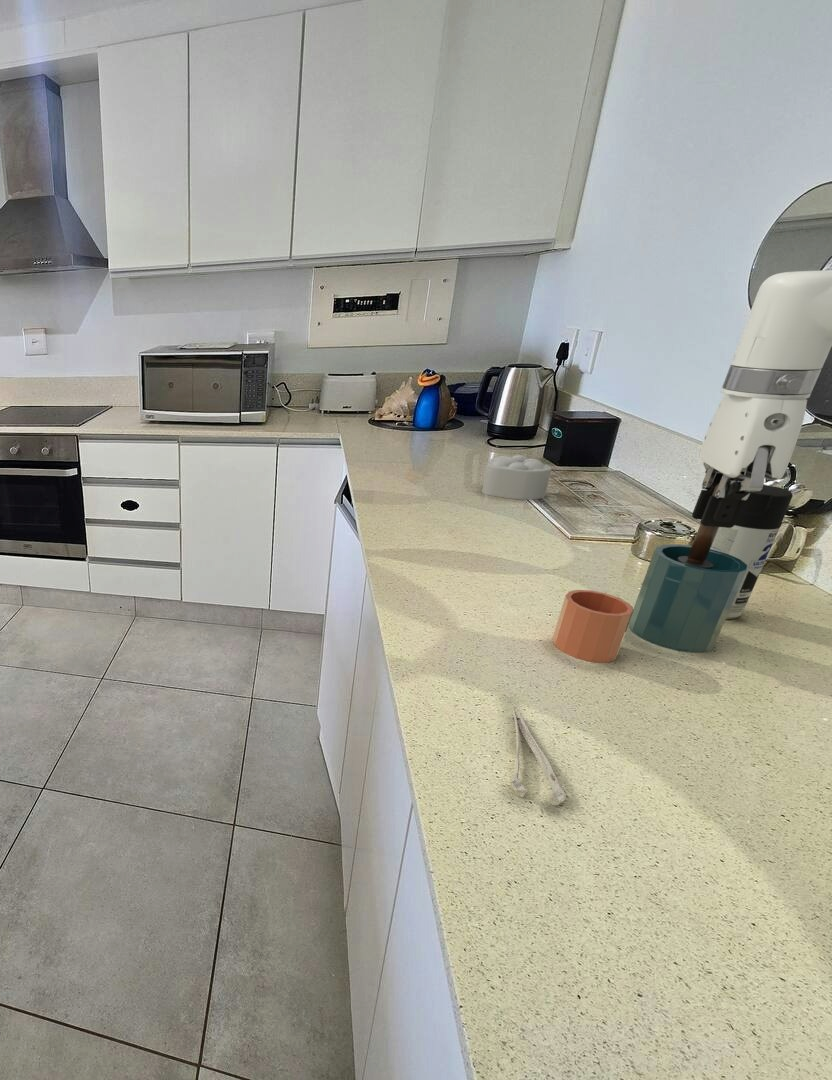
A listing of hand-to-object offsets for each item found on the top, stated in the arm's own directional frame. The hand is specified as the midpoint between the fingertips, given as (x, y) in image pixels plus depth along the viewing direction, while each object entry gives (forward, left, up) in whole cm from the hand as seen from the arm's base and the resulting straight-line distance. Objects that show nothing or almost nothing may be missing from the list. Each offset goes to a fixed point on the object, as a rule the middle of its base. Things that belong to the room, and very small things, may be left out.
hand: (711, 521), depth 77 cm
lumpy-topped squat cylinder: (+9, -67, -18) cm, 70 cm away
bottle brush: (0, 0, -13) cm, 13 cm away
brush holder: (+12, +8, -18) cm, 23 cm away
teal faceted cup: (0, 0, -18) cm, 18 cm away
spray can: (-9, -12, -19) cm, 24 cm away
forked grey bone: (+23, +32, -19) cm, 44 cm away
